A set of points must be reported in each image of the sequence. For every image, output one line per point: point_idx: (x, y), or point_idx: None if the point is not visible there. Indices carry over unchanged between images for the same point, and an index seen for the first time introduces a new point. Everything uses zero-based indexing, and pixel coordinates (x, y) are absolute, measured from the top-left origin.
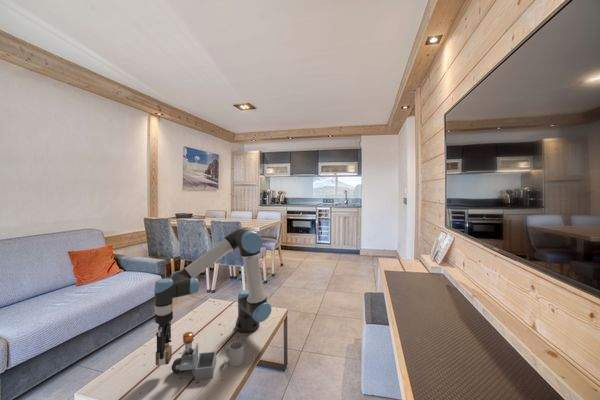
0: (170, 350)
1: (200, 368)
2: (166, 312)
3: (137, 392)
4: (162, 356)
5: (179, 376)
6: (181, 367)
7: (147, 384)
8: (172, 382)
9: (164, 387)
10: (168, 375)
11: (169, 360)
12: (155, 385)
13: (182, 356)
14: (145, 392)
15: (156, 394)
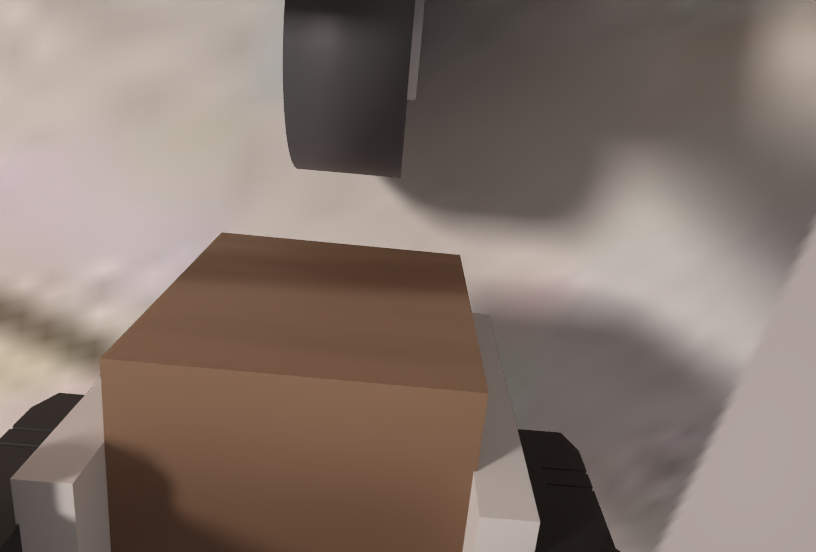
0: (259, 327)
1: None
2: None
3: (648, 499)
4: (589, 488)
5: (501, 4)
6: None
7: (535, 428)
8: (616, 96)
9: (687, 196)
10: (423, 194)
11: (373, 255)
12: (594, 327)
13: None
14: (688, 414)
15: (791, 273)
